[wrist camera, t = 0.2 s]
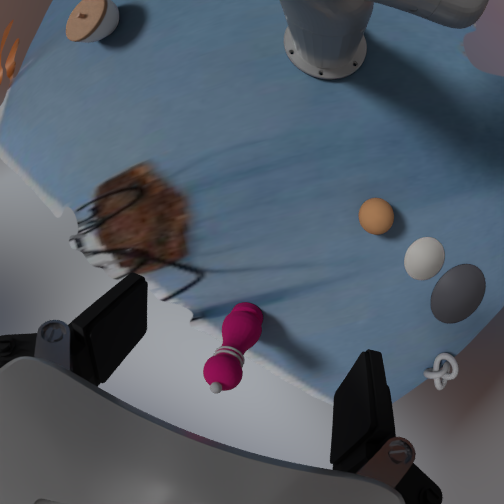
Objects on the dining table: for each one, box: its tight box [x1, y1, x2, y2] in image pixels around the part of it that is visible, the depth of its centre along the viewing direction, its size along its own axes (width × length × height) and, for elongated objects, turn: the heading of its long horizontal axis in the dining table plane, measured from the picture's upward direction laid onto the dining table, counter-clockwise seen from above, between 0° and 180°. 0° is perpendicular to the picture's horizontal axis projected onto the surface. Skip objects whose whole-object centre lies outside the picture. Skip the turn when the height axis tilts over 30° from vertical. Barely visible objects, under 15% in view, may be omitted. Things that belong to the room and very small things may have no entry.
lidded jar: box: [66, 0, 119, 43], centre depth 33 cm, size 11×11×9 cm
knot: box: [424, 353, 458, 390], centre depth 47 cm, size 8×8×6 cm
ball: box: [359, 198, 394, 235], centre depth 39 cm, size 6×6×6 cm
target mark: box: [431, 264, 485, 323], centre depth 43 cm, size 13×13×1 cm
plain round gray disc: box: [404, 237, 445, 280], centre depth 42 cm, size 8×8×1 cm
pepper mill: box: [203, 302, 263, 393], centre depth 46 cm, size 7×7×20 cm
